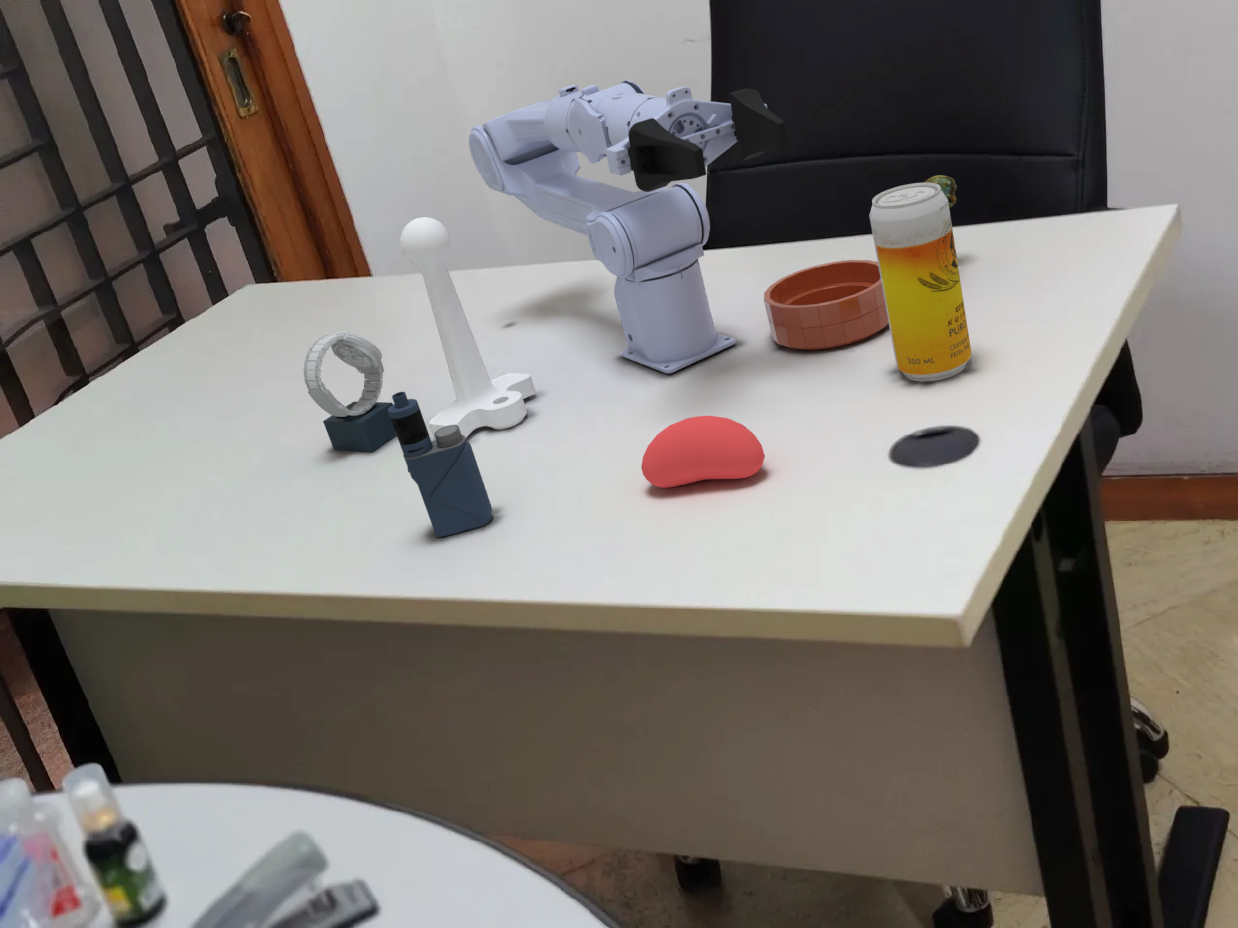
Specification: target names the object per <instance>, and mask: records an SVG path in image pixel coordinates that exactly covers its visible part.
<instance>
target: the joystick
mask: <svg viewBox="0 0 1238 928" xmlns="http://www.w3.org/2000/svg"><path fill="white" fill-rule="evenodd" d="M399 246H400V251H401V252H402V254H403V256H404V257H405V259H406V260H407V261H408V262H410V263H411V264H412V265H414V266H415V267H416V268H417V269H418V270H419V272H420V274H421V275H422V278H423V282H424V286H425V289H426V292H427V296H428V299H429V303H430V307H431V310H432V315H433V318H434V322H435V324H436V329H437V332H438V337H439V340H440V343H441V347H442V351H443V354H444V357H445V361H446V364H447V368H448V371H449V374H450V379H451V383H452V386H453V390H454V393H455V397H456V400H454V401H452V402H451V403H449V404H448V405H447V406H446V407H444V408H443V409H442V410H441V411H439V412H438V413H437V414H435V415H434V417H432V418H431V419H430V420H429V421H428V425H429V428H430V431H431V435H432V437H433V441H436V439H435V436H434V433H435V432H436V431H437V430H439V429H440V428H443V427H445V426H449V425H457V426H459V429H460V432H461V435H464V436H465V438H466V439H467V438H468V436H469V435H470V434H472V432H473V431H475V430H476V429H479V428H482V427H489V428H492V429H494V430H504V429H509V428H511V427H514V426H517V425H518V424H520V423H521V422H523V420H524V419H525V418H524V417H525V416H526V415H527V414H528V411H527V407H526V404H525V401H524V399H526V398H528V397H531V396H534V395H535V394H536V392H537V391H536V388H535V385H534V382H533V378H532V375H531V374H529V373H516V372H507V373H504V374H502V375H500V376H497V377H495V378H493V379H491V378H490V376H489V373H488V370H487V367H486V366H485V363H484V360H483V357H482V355H481V352H480V349H479V346H478V345H477V343H476V339H475V336H474V334H473V330H472V329H471V326H470V323H469V321H468V318H467V316H466V313H465V310H464V308H463V306H462V302H461V300H460V298H459V295H458V293H457V290H456V287H455V285H454V283H453V279H452V277H451V275H450V274H451V273H450V272H449V269H448V266H447V257H448V253H449V252H450V248H451V238H450V234H449V232H448V230H447V228H446V226H444V224H442V223H441V222H440V221H439V220H437V219H434V218H433V217H426V216H425V217H424V216H422V217H417V218H414V219H412V220H411V221H409V222H408V223H407V224H406V225H405V226H404V228H403V229H402V231H401V234H400V237H399Z"/></svg>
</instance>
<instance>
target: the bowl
mask: <svg viewBox="0 0 1238 928" xmlns="http://www.w3.org/2000/svg"><path fill="white" fill-rule="evenodd" d="M763 303H764V306H765V307H764V308H765V311H766V316H767V320H768V325H769V329H770V333H771V338H772V340H773V341H774V342H775V343H777V344H778V345H780V346H782V347H783V346H784V347H787V348H790V349H796V350H803V351H806V350H807V351H818V350H827V349H834V348H839V347H843V346H848V345H851V344H854V343H858V342H860V341H863V340H865V339H867V338H870V337H872V336H873V335H876V334H877V333H878V332H880V331H881V330H883V329H884V328H885V327H886V326H889V322H888V316H887V311H886V305H885V300H884V294H883V289H882V283H881V278H880V272H879V267H878V261H876V260H870V259H847V260H838V261H831V262H827V263H822V264H817V265H813V266H809V267H807V268H803V269H800V270H797V271H795V272H792V273H790V274H787V275H786V276H783V277H782V278H780V279H778V280H777V281H775V282H774V283H772V284H771V285H769V286H768V287H767V289H766V290H765V291H764V292H763Z"/></svg>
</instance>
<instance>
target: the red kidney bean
mask: <svg viewBox="0 0 1238 928" xmlns="http://www.w3.org/2000/svg"><path fill="white" fill-rule="evenodd" d="M765 458H766V455H765V452H764V448H763V445H762V443H761V442H760V440H759V439H758V437H757V436H756V435H755V434H754V433H753V432H752V431H751V430H750V429H748V428H747V427H746V426H745V425H744V424H742V423H739V422H738V421H735V420H733V419H731V418H728V417H722V416H715V415H699V416H692V417H688V418H684V419H682V420H679V421H677V422H674V423H672V424H670V425H668V426H667V427H665V428H664V429H663V430H661V431H660V432H659V433H657V434H656V435H655V436H654V438H653V439H652V440H651V442H650V443H649V444H648V445H647V447H646V449H645V452H644V453H643V455H642V459H641V466H640V468H641V472H642V475H643V477H644V478H645V480H646V481H647V482H649V484H651V485H653V486H655V487H657V488H663V489H665V488H666V489H668V488H675V487H679V486H684V485H688V484H693V483H696V482H701V481H703V480H704V481H705V480H740V479H746V478H750V477H752V476H754V475H756V474H757V473H758V472H759V471H760V470H761V468H762V467H763V465H764V462H765Z"/></svg>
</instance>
